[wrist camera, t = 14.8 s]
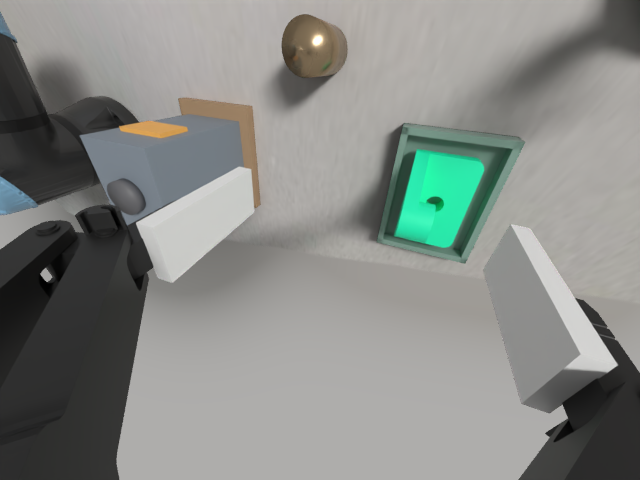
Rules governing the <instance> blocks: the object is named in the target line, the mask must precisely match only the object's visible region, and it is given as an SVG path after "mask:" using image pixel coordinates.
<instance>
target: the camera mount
mask: <svg viewBox="0 0 640 480" xmlns="http://www.w3.org/2000/svg"><path fill="white" fill-rule="evenodd" d="M483 172H484V166H483V164H482V162H481V160H480V159H478V158H475V157H468V156H461V155H455V154H448V153H441V152H434V151H428V150H421V149H417V151H416V155H415V158H414V162H413V166H412V169H411V173H410V176H409V180H408V184H407V187H406V191H405V195H404V198H403V202H402V206H401V210H400V214H399V218H398V221H397V225H396V229H395V233H394V236H395V237H400V238H404V239H408V240H412V241H417V242H421V243H425V244H429V245H434V246H438V247H442V248H446V247H449V246H451V245H452V243H453V241H454V239H455V236H456V234H457V232H458V230H459V227H460V225H461V223H462V220H463V218H464V216H465V214H466V211H467V209H468V207H469V204H470V202H471V200H472V198H473V195H474V193H475V191H476V188H477V186H478V184H479V182H480V179H481V177H482V175H483ZM434 196H436V197H440V198H441V199H442V200H441V201H440V202H439V203H436V204H431V203H429V202H428V201H427V200H428V199H429V198H430V197H434Z"/></svg>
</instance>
